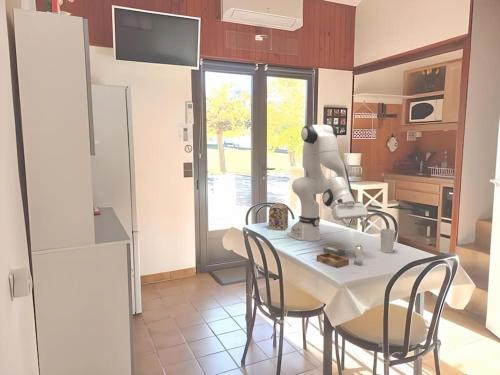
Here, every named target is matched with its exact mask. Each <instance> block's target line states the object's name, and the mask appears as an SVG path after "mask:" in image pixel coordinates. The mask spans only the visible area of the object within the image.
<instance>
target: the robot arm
mask: <svg viewBox="0 0 500 375" xmlns="http://www.w3.org/2000/svg"><path fill="white" fill-rule="evenodd" d="M300 137H301V139H302V141H303V145H302V146H303V147H302V168H303V169H304V170H306V171H307V173H308V176H305V177H304V176H303V177H302V176H301V177H298V178H296V179H294V180H293V181H292V184H291V186H292V187H291V188H292V191H293V193H294V194H295V195H297V197H298V199H299V201H300V207H301V208H300V210H301V213H300V214H301V215H299V216H297V217H298V221H297V222H296V223H295V224H293V225H292V226H291V228H290V231H289V232H287V234H286V235H287V236H288V237H290V238H293V239H295V240H297V241H308V242H314V241H320V240H321V239H322V236H321V231H320V222H321V221H320V220H321V217H320V203H319V202H318V201H316V200H315V199H314V195H321V194H322V196H321V198H322V202H323V204H324V206H326V207H327V208H330V211H331V215H332V218H333V220H335V221H336V222H337V221H341V222H342V223H343V224H344V226H345V227H346V228H349V227H350V226H351V225H350V222H347V220H353V219H354V220H355V219H359V220H360V222H359V224H360V226H364V225H365V218H366V217H368V216H369V211H368V209H367V208H366V206H365V205H364V203H363V202H361V201H355V195H354V193H353V189H352V187H351V182H350V178H349V173H348V170H347V167H346V163H345V162H344V161H342V158H341V156H340V150H339V143H338V140H337V137H338V130H337V127H336V126H334V125H331V124H321V123H320V124H306V125H304V126H303V128H302V129H301V136H300ZM322 166H323V167H324V168H326V169H329V170H330V171H332V172H334V173H336V175H337V176H334V177H331V178H330V179H328V178H327V177H326V176H325V174H324V173H323V170H322Z"/></svg>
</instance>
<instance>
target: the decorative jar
mask: <svg viewBox="0 0 500 375" xmlns="http://www.w3.org/2000/svg"><path fill="white" fill-rule="evenodd" d="M288 227H289V208H288V205H285V204H283V203H282V202H275V204H272V205H270V207H269V209H268V230H272V231H273V230H274V231H275V230H276V231H286V230H287V229H288Z"/></svg>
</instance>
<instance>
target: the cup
mask: <svg viewBox="0 0 500 375" xmlns="http://www.w3.org/2000/svg"><path fill="white" fill-rule="evenodd" d="M379 231H380V252H381V253H385V254H392V253H393V252H394V244H395V237H396V232H397V231H396V230H395V229H390V228H381V229H380V230H379Z"/></svg>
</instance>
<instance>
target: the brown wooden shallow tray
mask: <svg viewBox="0 0 500 375" xmlns="http://www.w3.org/2000/svg"><path fill="white" fill-rule="evenodd" d="M316 261H317V262H319V263H322V264H325V265H328V266H332V267H334V268H337V269H339V268H342V267H345V266H349V264H350V262H349V261H350V259H349V258H347V257H343V256H342V255H340V256H338V255H334V254H331V253H324V252H323V253H321V254H318V255H317V254H316Z"/></svg>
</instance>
